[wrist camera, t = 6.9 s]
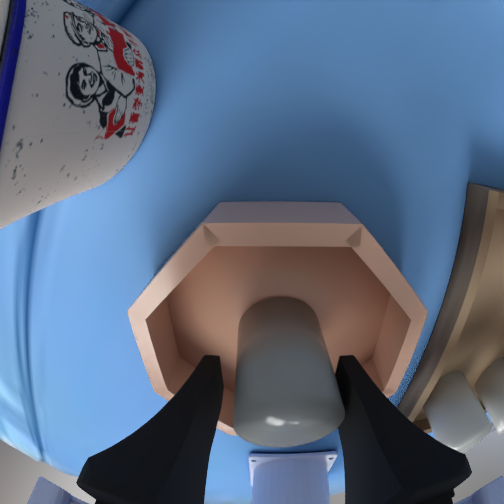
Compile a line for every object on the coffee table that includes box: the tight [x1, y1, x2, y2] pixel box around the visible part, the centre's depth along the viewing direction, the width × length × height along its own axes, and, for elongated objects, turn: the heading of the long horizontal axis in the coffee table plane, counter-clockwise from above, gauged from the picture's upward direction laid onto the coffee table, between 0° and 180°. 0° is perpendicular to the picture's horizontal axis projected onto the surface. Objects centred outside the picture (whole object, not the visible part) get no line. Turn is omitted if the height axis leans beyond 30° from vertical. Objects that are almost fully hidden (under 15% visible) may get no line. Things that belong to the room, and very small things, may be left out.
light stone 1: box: [423, 371, 492, 453], centre depth 13 cm, size 4×4×6 cm
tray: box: [397, 183, 504, 433], centre depth 13 cm, size 20×13×2 cm, turn 2°
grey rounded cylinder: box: [233, 297, 345, 447], centre depth 11 cm, size 4×4×6 cm
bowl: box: [127, 201, 428, 435], centre depth 13 cm, size 13×13×3 cm
